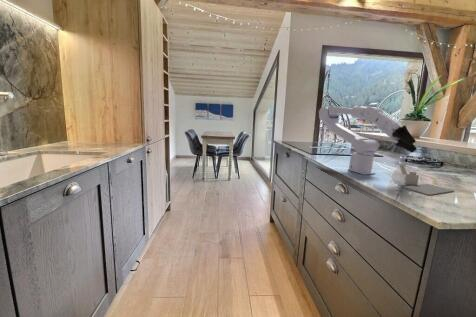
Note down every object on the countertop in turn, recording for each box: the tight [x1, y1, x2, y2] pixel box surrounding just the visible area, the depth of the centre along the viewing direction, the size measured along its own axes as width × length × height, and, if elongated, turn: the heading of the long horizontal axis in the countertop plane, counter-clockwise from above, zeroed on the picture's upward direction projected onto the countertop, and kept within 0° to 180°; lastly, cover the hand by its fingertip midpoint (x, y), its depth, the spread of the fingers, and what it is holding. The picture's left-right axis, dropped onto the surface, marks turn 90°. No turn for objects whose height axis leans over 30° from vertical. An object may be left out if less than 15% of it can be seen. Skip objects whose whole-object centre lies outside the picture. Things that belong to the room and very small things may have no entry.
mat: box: [402, 183, 455, 196], centre depth 91 cm, size 9×16×1 cm, turn 114°
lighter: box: [398, 163, 420, 186], centre depth 97 cm, size 7×2×8 cm, turn 69°
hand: (413, 147), depth 94 cm, fingers open, 7 cm apart
